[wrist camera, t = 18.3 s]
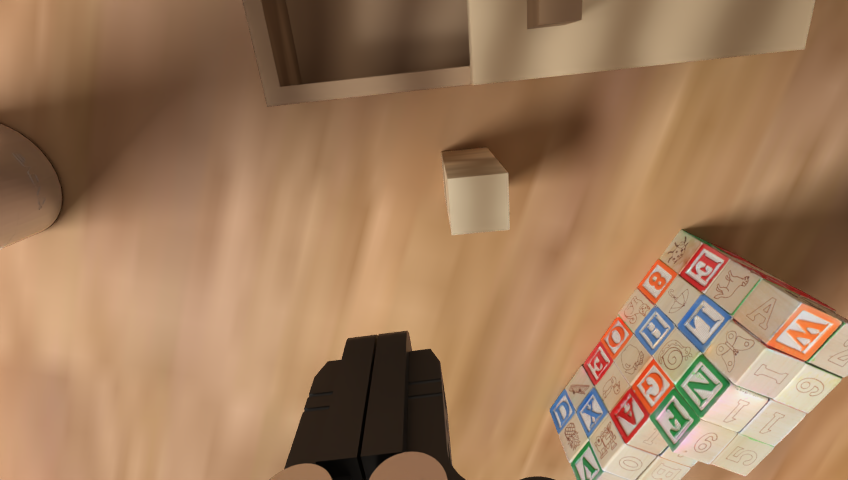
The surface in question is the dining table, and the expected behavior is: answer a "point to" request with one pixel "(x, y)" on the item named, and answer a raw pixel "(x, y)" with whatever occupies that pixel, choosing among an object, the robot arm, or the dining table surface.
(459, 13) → the toolbox
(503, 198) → the beige wooden block
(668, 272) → the stack of blocks
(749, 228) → the dining table surface
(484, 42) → the lid
